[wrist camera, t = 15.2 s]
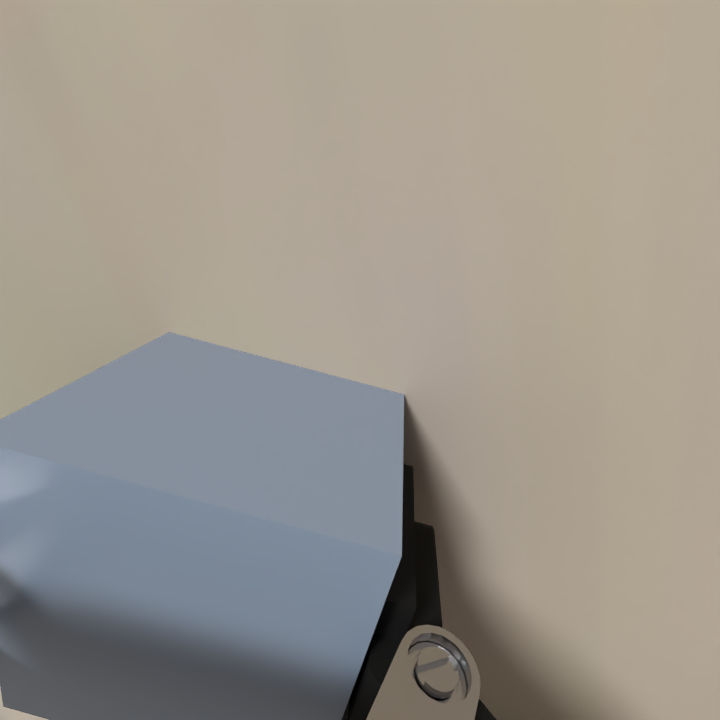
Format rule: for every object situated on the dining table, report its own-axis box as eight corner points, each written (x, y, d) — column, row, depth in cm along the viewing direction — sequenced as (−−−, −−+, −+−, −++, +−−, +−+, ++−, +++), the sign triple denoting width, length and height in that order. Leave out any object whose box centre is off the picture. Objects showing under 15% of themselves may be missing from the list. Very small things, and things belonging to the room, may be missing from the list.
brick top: (404, 393, 10) (402, 556, 5) (349, 570, 12) (314, 794, 8) (169, 332, 10) (-34, 437, 5) (156, 517, 12) (3, 706, 8)
